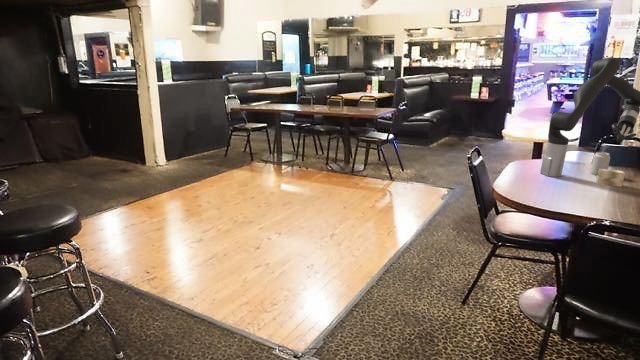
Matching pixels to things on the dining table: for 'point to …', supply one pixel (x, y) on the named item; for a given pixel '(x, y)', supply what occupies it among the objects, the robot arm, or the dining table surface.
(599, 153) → the can
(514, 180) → the dining table surface
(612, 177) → the block
